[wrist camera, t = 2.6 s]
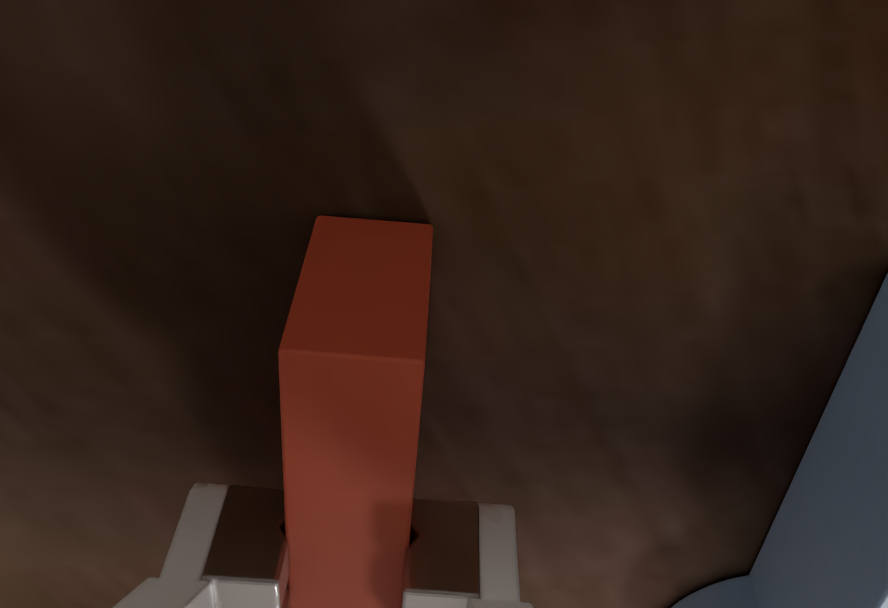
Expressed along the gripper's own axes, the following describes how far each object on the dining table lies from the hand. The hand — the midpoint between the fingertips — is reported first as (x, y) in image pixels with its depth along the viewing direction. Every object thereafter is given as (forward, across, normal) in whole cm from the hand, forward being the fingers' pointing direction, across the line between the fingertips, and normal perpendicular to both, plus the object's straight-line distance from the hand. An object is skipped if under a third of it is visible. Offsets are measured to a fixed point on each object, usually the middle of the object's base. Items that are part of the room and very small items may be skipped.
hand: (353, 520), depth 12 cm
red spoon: (+2, 0, +2) cm, 2 cm away
